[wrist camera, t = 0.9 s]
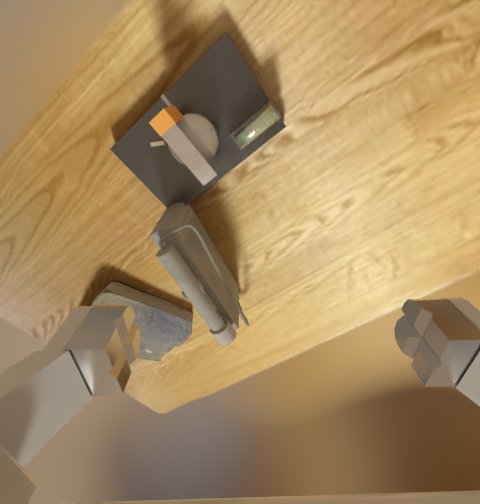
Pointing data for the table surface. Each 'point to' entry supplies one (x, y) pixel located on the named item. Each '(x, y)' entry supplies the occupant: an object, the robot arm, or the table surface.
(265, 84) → the table surface
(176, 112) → the knob
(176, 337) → the grey stone slab
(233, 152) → the stand
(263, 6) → the table surface
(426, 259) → the table surface
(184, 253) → the geiger counter
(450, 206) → the table surface
